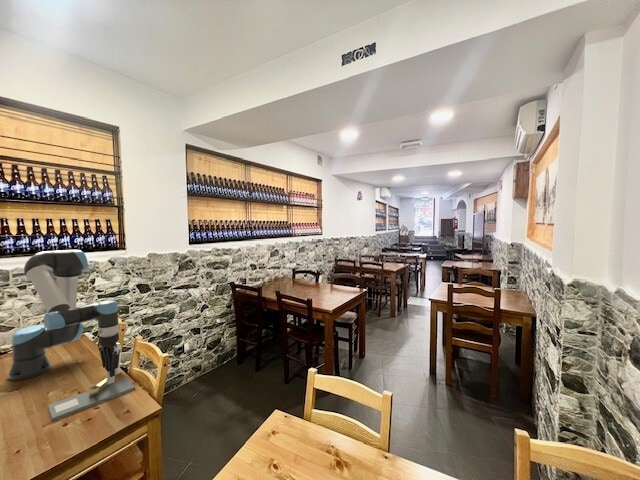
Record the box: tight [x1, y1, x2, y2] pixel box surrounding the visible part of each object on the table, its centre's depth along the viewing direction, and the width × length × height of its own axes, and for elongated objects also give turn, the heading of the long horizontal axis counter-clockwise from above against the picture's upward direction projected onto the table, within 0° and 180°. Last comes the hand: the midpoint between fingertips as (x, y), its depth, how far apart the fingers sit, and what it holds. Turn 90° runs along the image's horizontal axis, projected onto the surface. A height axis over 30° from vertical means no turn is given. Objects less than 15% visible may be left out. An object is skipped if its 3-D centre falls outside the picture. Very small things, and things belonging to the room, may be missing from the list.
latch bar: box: [88, 377, 109, 397], centre depth 126 cm, size 4×14×4 cm, turn 4°
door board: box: [48, 377, 136, 422], centre depth 121 cm, size 12×28×1 cm, turn 140°
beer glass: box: [105, 342, 122, 377], centre depth 140 cm, size 7×7×15 cm
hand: (110, 382), depth 128 cm, fingers closed
